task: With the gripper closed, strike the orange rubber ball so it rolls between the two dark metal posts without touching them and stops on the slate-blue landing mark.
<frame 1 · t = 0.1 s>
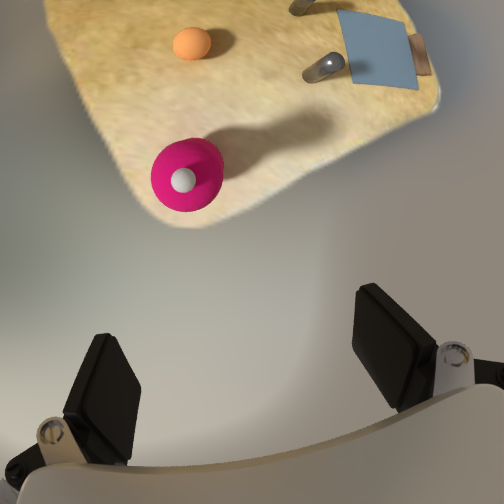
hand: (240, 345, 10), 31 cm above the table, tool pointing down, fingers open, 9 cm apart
post 2: (296, 10, 30), on the table
ball: (191, 43, 28), on the table
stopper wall: (415, 55, 34), on the table
pepper mill: (195, 164, 37), on the table
landing mark: (381, 48, 33), on the table
post 1: (310, 76, 34), on the table
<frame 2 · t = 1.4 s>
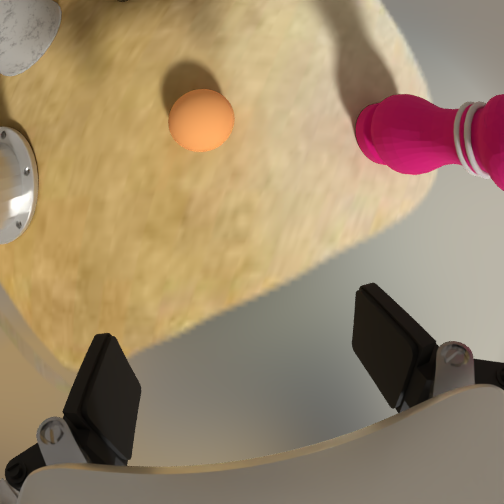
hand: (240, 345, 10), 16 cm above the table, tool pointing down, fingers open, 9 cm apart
ball: (201, 120, 19), on the table
speckled stone cylinder: (27, 37, 14), on the table
pepper mill: (380, 133, 24), on the table
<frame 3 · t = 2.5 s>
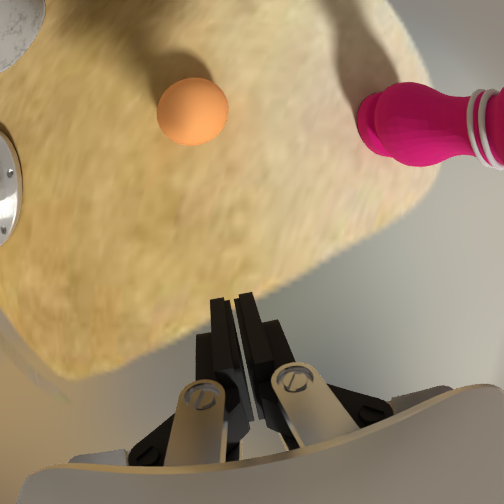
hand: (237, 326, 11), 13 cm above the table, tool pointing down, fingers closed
ball: (192, 111, 17), on the table
speckled stone cylinder: (10, 33, 12), on the table
pepper mill: (382, 124, 22), on the table
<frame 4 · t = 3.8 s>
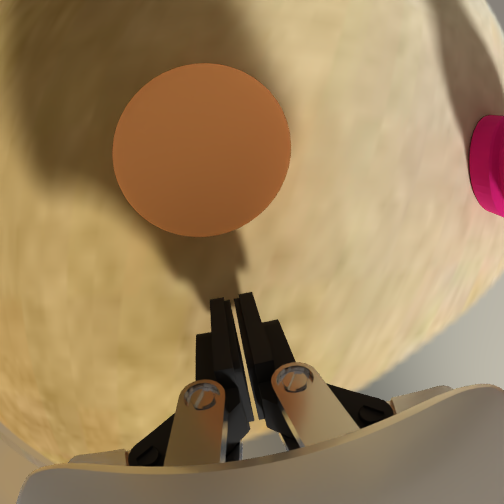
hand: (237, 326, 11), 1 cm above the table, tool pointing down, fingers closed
ball: (200, 148, 7), on the table
pepper mill: (491, 162, 12), on the table
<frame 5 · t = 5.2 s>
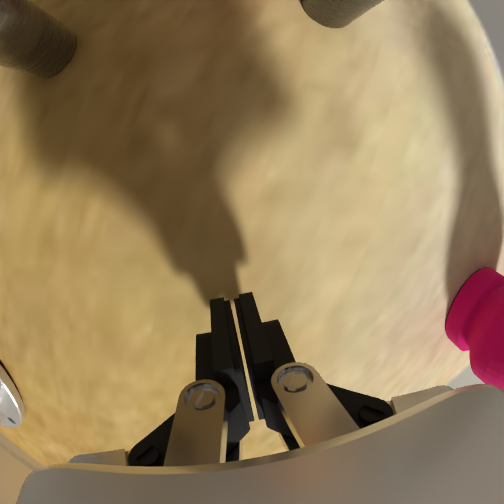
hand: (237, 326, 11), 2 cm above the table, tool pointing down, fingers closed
post 2: (53, 53, 7), on the table
pepper mill: (470, 303, 16), on the table
post 1: (327, 6, 8), on the table
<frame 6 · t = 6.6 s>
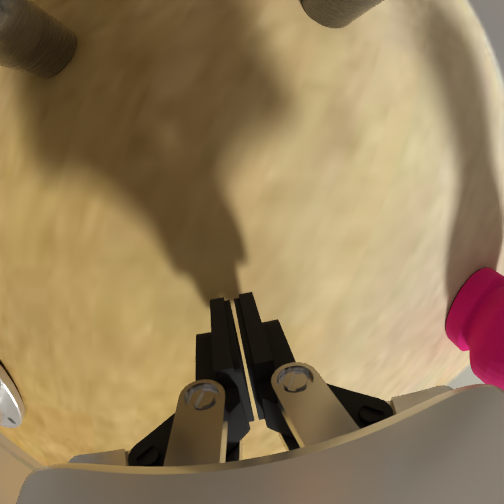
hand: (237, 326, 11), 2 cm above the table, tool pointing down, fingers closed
post 2: (53, 53, 7), on the table
pepper mill: (470, 303, 16), on the table
post 1: (327, 6, 8), on the table
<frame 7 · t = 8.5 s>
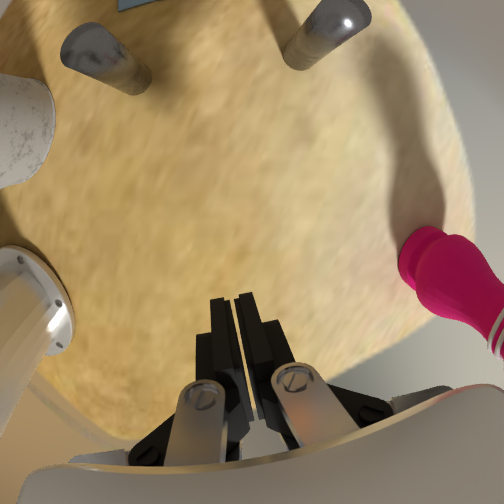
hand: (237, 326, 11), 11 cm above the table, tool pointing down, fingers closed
post 2: (136, 80, 16), on the table
speckled stone cylinder: (17, 130, 16), on the table
pepper mill: (421, 255, 24), on the table
post 1: (298, 56, 17), on the table
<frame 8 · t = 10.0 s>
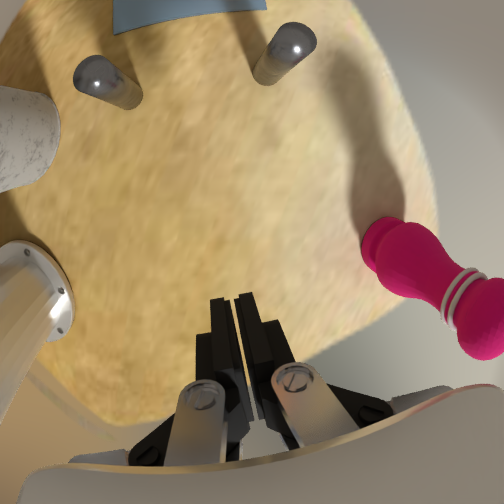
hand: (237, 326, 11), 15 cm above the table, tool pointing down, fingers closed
post 2: (129, 96, 20), on the table
speckled stone cylinder: (25, 138, 19), on the table
pepper mill: (383, 243, 29), on the table
post 1: (266, 73, 21), on the table
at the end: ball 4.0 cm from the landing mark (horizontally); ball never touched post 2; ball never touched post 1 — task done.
